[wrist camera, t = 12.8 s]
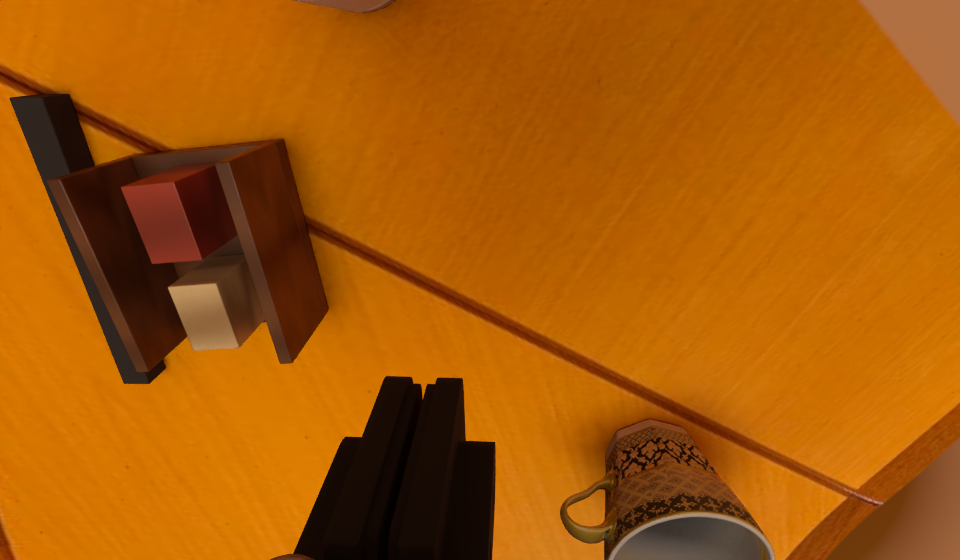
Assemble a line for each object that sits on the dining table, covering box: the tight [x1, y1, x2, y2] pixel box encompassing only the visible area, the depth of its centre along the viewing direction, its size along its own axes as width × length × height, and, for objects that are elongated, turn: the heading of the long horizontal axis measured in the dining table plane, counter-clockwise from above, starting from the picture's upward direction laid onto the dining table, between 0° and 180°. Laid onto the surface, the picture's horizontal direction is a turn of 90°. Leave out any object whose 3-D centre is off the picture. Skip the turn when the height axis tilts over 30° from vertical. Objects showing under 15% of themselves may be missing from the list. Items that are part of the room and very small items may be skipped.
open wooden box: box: [47, 139, 328, 372], centre depth 31 cm, size 12×10×7 cm
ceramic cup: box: [560, 419, 775, 560], centre depth 35 cm, size 13×10×10 cm
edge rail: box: [10, 94, 165, 384], centre depth 34 cm, size 20×2×2 cm, turn 2°
